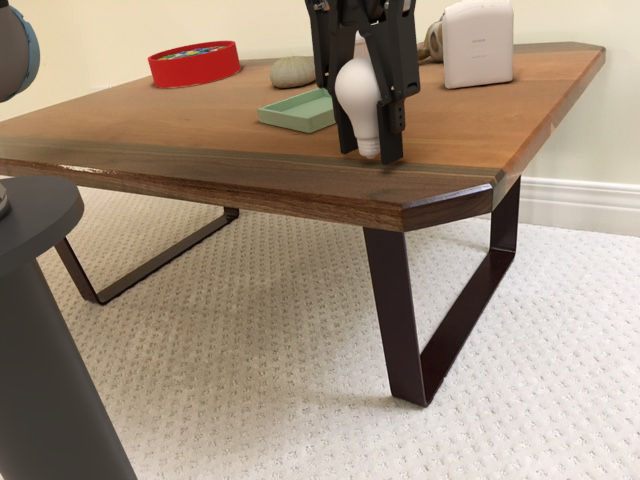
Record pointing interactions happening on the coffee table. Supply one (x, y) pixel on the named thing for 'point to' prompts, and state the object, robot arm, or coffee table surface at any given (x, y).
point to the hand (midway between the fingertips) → (371, 155)
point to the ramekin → (360, 47)
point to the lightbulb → (360, 102)
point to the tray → (301, 111)
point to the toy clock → (194, 64)
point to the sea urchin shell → (292, 72)
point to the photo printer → (478, 43)
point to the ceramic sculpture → (432, 43)
